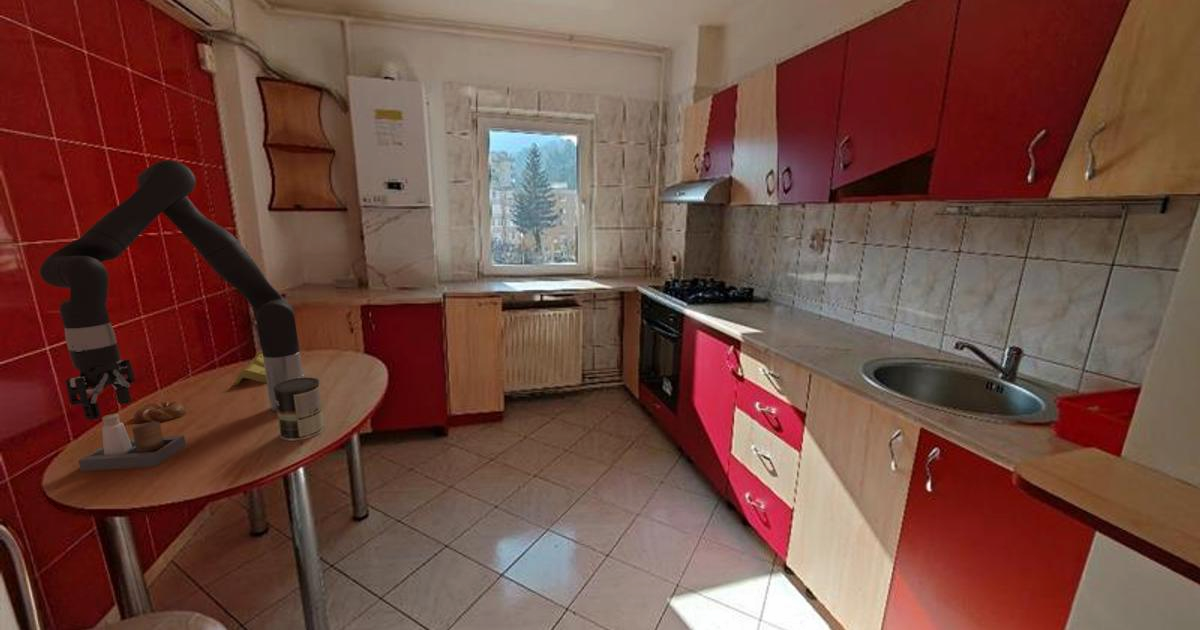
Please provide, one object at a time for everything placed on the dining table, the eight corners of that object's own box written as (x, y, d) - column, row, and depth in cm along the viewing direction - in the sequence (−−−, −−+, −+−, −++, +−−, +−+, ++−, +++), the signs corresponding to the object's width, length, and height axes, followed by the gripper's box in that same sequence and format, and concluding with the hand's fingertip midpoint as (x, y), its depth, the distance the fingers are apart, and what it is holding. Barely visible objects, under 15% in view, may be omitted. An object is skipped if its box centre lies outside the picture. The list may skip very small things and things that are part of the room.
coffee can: (276, 444, 121) (268, 393, 117) (285, 427, 130) (278, 380, 127) (322, 437, 125) (315, 387, 121) (327, 421, 134) (321, 375, 131)
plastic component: (272, 376, 162) (239, 368, 158) (264, 395, 163) (231, 386, 159) (286, 356, 180) (256, 348, 176) (279, 373, 181) (249, 365, 176)
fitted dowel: (171, 450, 115) (165, 421, 113) (156, 460, 110) (149, 430, 109) (149, 452, 114) (142, 422, 112) (133, 462, 110) (126, 431, 108)
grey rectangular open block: (186, 448, 118) (184, 435, 117) (156, 469, 108) (153, 455, 108) (118, 452, 116) (115, 439, 115) (81, 474, 106) (78, 460, 105)
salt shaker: (129, 461, 110) (119, 418, 108) (98, 466, 108) (88, 422, 105) (140, 450, 115) (130, 409, 112) (110, 455, 113) (100, 413, 110)
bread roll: (199, 410, 141) (197, 398, 140) (164, 426, 130) (162, 414, 130) (161, 408, 142) (159, 397, 141) (123, 424, 131) (121, 412, 130)
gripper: (100, 336, 111) (116, 400, 114) (42, 354, 97) (62, 425, 101) (136, 335, 112) (151, 397, 116) (84, 352, 98) (102, 423, 102)
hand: (110, 410), depth 108 cm, fingers open, 8 cm apart
